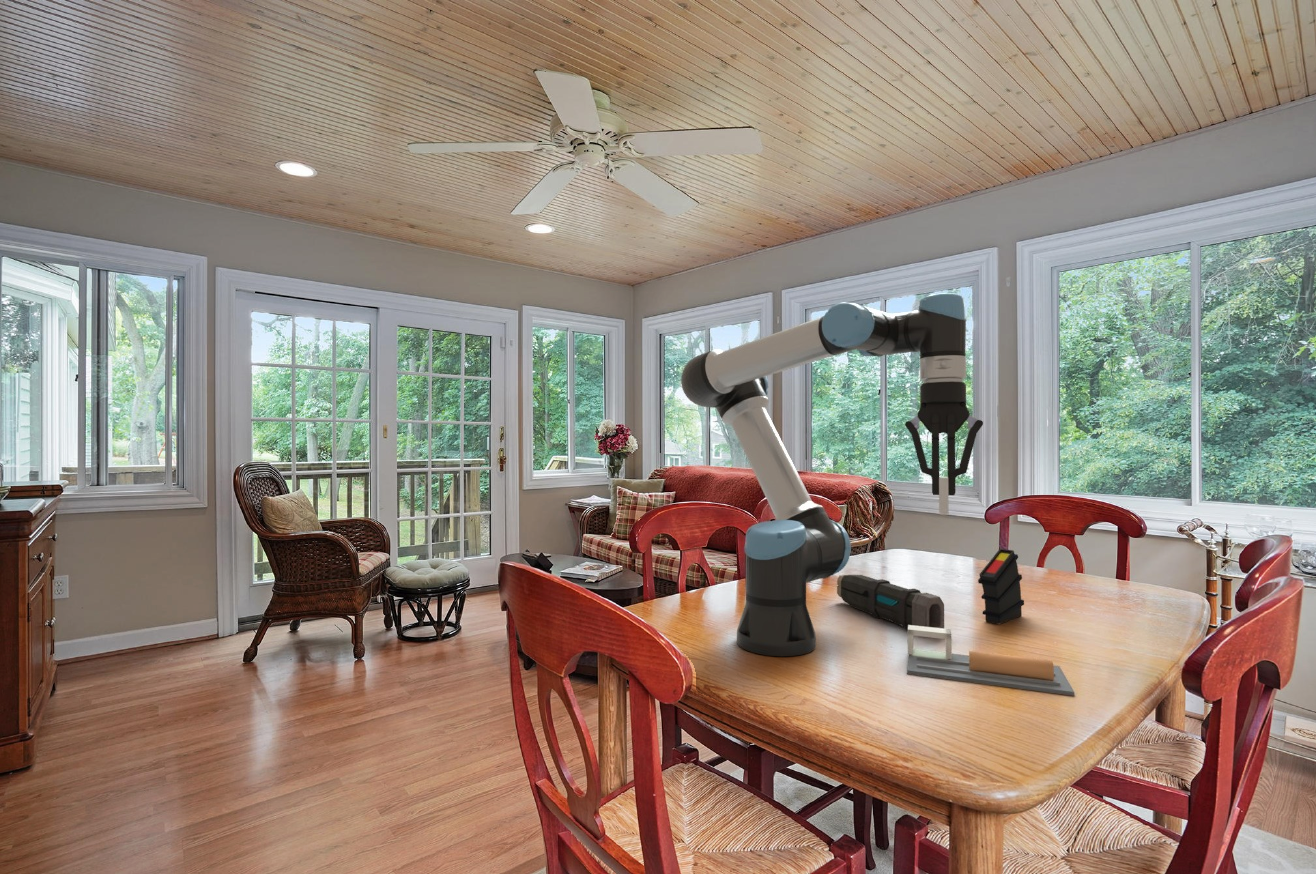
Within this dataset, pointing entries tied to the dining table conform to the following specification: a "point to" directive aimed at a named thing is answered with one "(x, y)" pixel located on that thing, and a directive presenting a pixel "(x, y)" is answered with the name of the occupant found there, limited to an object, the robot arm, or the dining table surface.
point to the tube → (891, 601)
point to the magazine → (1001, 587)
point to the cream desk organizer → (929, 633)
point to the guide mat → (980, 673)
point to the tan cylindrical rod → (1011, 665)
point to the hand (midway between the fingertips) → (943, 513)
